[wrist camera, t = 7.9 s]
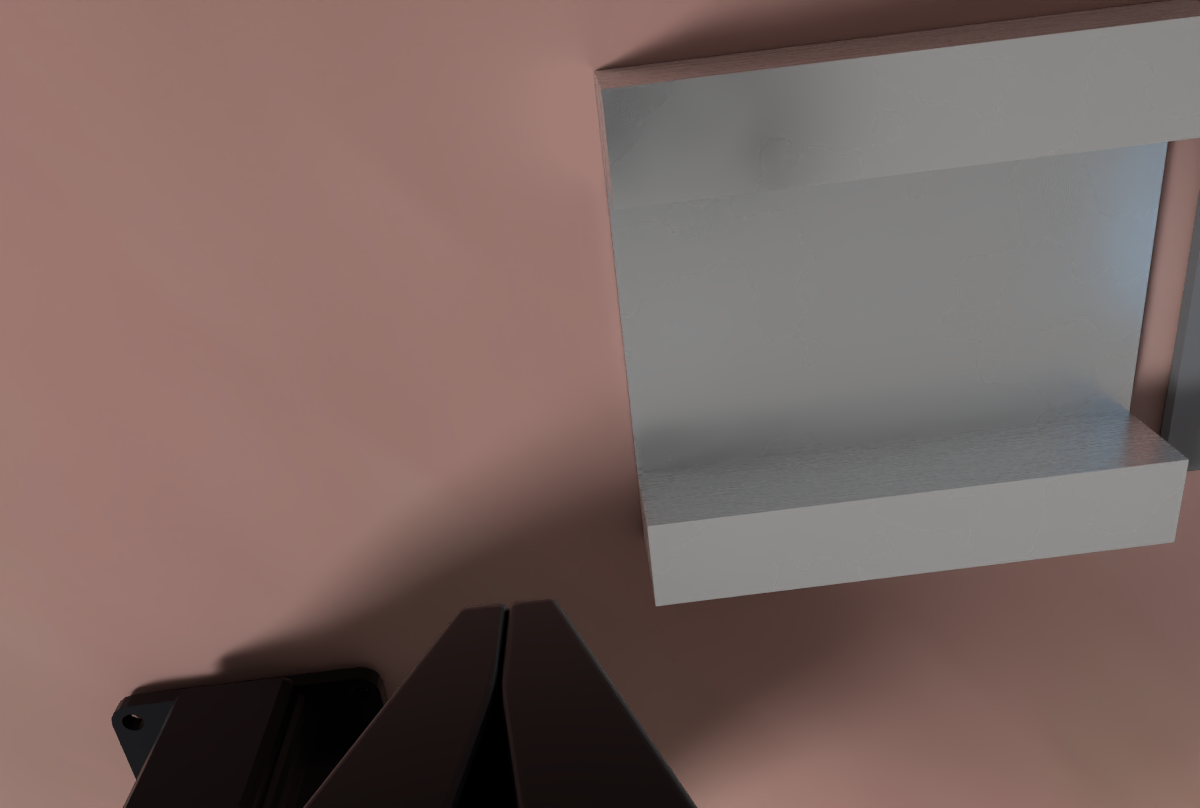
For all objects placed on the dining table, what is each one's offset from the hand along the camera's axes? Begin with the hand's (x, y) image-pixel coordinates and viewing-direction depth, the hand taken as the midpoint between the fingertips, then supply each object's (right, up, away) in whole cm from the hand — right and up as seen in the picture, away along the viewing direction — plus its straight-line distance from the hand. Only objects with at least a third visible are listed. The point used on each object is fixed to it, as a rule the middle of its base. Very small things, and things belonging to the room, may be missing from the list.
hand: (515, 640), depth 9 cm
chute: (+7, +4, +12) cm, 14 cm away
